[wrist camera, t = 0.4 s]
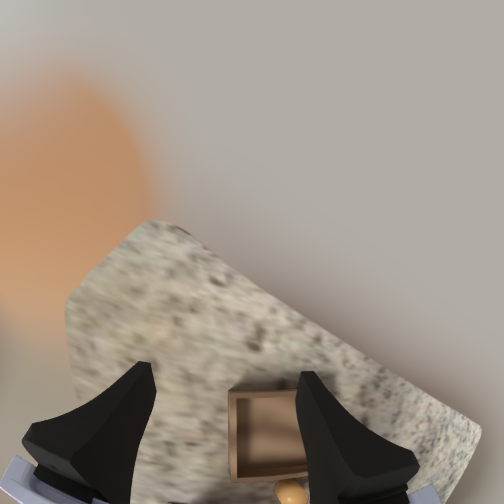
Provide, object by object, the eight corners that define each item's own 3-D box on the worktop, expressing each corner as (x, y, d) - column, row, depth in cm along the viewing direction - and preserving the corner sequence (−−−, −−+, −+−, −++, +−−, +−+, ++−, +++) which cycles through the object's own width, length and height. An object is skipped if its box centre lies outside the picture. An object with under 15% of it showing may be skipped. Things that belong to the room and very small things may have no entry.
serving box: (316, 464, 32) (327, 472, 28) (228, 472, 31) (231, 482, 26) (317, 386, 38) (329, 387, 34) (228, 390, 37) (230, 392, 33)
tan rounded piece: (298, 495, 29) (308, 506, 25) (273, 498, 29) (281, 511, 24) (298, 477, 31) (309, 487, 27) (274, 480, 31) (282, 491, 26)
